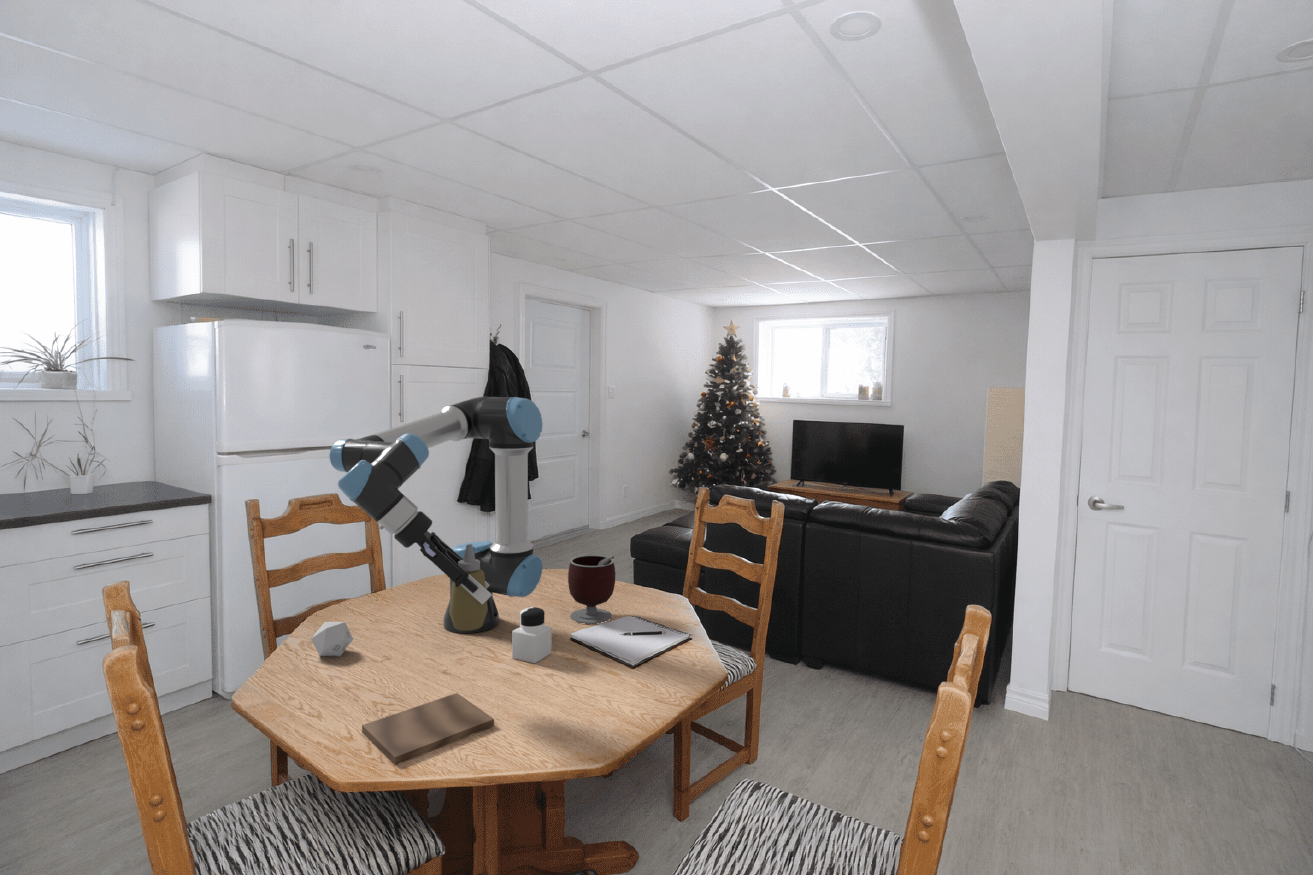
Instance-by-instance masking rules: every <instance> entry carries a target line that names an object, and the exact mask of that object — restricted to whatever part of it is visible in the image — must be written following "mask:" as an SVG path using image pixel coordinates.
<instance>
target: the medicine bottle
mask: <svg viewBox="0 0 1313 875" xmlns="http://www.w3.org/2000/svg"><path fill="white" fill-rule="evenodd" d="M511 633H512V635H511V636H512V637H511V638H512V639H511V640H512V642H511V644H512V648H511V649H512V650H511V651H512V652H511V656H512V659H514V660H518V661H522V660H523V662H528V663H532V664H536V663H538V662H540V661H541V660H543V659H545V658H547V656H549V655H552V626H550V625H549V626H548V625H545V610H544V609H543V608H540V607H537V606H535V607H534V606H530V607H526V608H523V609H522V610H521V611H520V613H519V627H517V628H516V629H513V630H512V632H511Z"/></svg>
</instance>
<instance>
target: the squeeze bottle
mask: <svg viewBox="0 0 1313 875" xmlns="http://www.w3.org/2000/svg"><path fill="white" fill-rule="evenodd" d="M458 565H459V566H460V567H461V568H462V569H463V570H464V571H465V572H466V573H467V574H468V575H469V574H470V575H471V576H472V577H473V578H474V579H475V580H476V581H477V582H479V583H480V584H481V585H482V586H483V587H484V588H485V589H486V586H485V575H484V572H483V571H482V570H480V561H479V560H477V559H475V556H474V551H473V546H472V544H467V545H466V550H465V554H464V558H463V560H460V561H459V562H458ZM459 576H460V575H459ZM459 576H458V577H459ZM458 577H457V578H458ZM455 585H456V584H455V582H453V584H452V593H451V602H450V611H449V613H450V616H451V619H452V622H453V625H454V628H456V629H458V630H463V631H468V630H475V629H478V628H480V627H482V625H483V622H484V619H485V617H486V614H487V611H488V608H487V601H486V602H485V603H484V604H483V605H482V604H481V603H480V602H479V601H478V600H477V599H475V598H474V597H473V596H472V595H471V594H470V593H469V592H468V591H466V590H465V589H464V588H463V587H462V586H461V585H459V586H458V587H456V586H455Z"/></svg>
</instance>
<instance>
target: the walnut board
mask: <svg viewBox="0 0 1313 875" xmlns="http://www.w3.org/2000/svg"><path fill="white" fill-rule="evenodd" d="M493 727H495V718H494V717H492V716H491V715H489V714H488V713H487V712H485V711H484V710H482V709H481V708H479V707H478V706H476V705H475V704H473V703H472V702H471V701H470V700H468V699H467V698H465V697H464V696H462V695H461V694H460V693H458V692H456V693H453V694H449V695H447V696H444V697H441V698H438V699H434V700H432V701H429V702H426V703H423V704H421V705H418V706H414V707H411V708H409V709H406V710H403V711H400V712H399V711H398V712H397V713H394V714H391V715H387V716H385V717H382V718H380V719H376V720H374V721H370V722H368V723H364V724H362V725H361V733H362V734H363V735H364V736H365V737H366V738H367V739H368V740H369V741H370V742H371V743H372V744H373V745H374V746H375V747H376V748H377V749H378V750H379V751H380V752H381V753H382V754H383V755H384V756H385V757H386V758H387V759H388V760H389V761H390V760H391V761H392V762H391V761H390V762H391V763H392V764H393V763H394V764H393V766H397V765H400V764H402V763H404V761H405V762H407V761H409V760H412V759H415V758H417V757H419V756H422V755H425V754H426V753H430V752H431V751H435V750H438V749H440V748H442V747H445V746H448V745H450V744H452V743H455V742H457V741H460V740H463V739H465V738H467V737H470V736H472V735H473V736H474V735H475V734H478V733H480V732H482V731H486V730H488V729H491V728H493ZM406 760H407V761H406ZM401 762H402V763H401ZM399 763H400V764H399Z"/></svg>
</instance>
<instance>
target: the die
mask: <svg viewBox="0 0 1313 875" xmlns="http://www.w3.org/2000/svg"><path fill="white" fill-rule="evenodd" d="M349 629H350V628H349V627H348V625H347V623H346V621H324V623H323V624H322V625H321V626H320V627H319V628H318V630H317V631H316V632H315V633H314V634H313V636H312V637H311V638H310V640H311V642H312V644H313V646H314V648H315V650H316V652H317V654H318V656H319V657H342V655H343V654H344V652H345V651H346V649H347V648H348V647H349V645H350V644H351V643H352V641H353V640H354V638H353V635H352V634H351V631H350V630H349Z"/></svg>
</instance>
